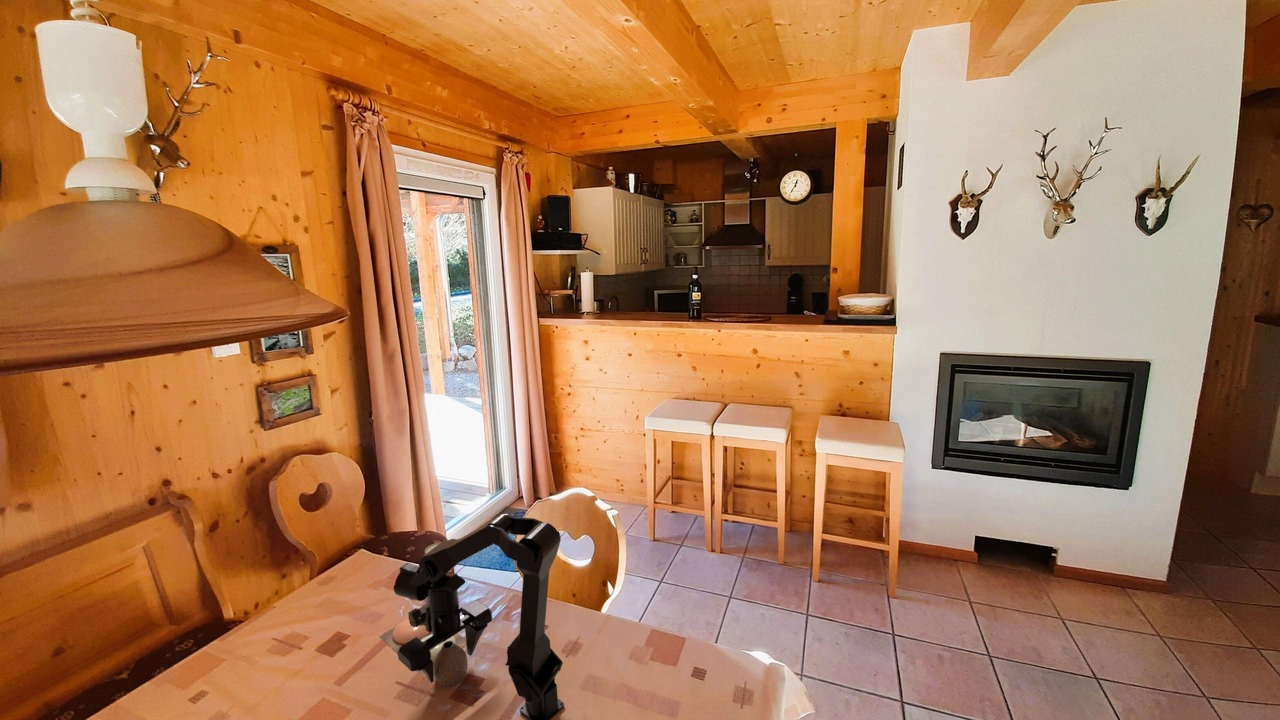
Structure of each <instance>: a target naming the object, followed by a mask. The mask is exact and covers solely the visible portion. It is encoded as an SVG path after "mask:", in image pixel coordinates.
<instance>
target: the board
mask: <svg viewBox="0 0 1280 720" xmlns="http://www.w3.org/2000/svg"><path fill="white" fill-rule="evenodd" d="M395 627H396V626H395ZM395 627H393V628H391V629H389V630H387V631H386V632H384V633H382V634H381V635H379V636H378V637H379V638H381V640H382V641H383V642H385V644H387V645H388V647H390V648H391V649H392V650H393V651H394V652H395V653H396V654H397V655H398V650H399V648H400V647H401V646H402V645H404V644H399V643H397V642H395V641H394V639H393V630H394V629H395ZM431 634H432V632H430V634H429V635H431ZM454 638H455V643H456V645H458V646H460V647H461V648H462V649H463V648H464V647H465V646H466V638H464V636H462V635H460V633H459V632H458V633H457V634H455V635H454ZM433 664H434V663H433ZM415 672H417V673H418V674H419V675H420V676H422V675H423V674H424V672H423V671H422V670H421V671H418V670H416V671H415Z"/></svg>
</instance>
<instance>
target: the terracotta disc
mask: <svg viewBox="0 0 1280 720" xmlns="http://www.w3.org/2000/svg"><path fill="white" fill-rule="evenodd" d="M429 634H430V632H428V631H426V626H424V625H422V626H420V625H419V626H418V627H413V626H411V625H410V622H409V617H408V618H406V619H404V620H402V621H401V622H399V623H398V624H397V625H396V626H395V629H394V630H393V639H394V641H395V642H397V643H399V644H406V643H407V642H409V641H411V640H412V639H414V638H416V637H417V638H418V639H419V640H422V639H423V638H425V637H426V636H428V635H429Z"/></svg>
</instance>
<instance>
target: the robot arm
mask: <svg viewBox="0 0 1280 720" xmlns="http://www.w3.org/2000/svg"><path fill="white" fill-rule="evenodd" d="M510 534H511V535H514V536H515V535H516V536H523V537H522V538H520V540H518V541H516V540H514V539H512V538H511V537H510V536H509V535H510ZM561 540H562V539H561V533H560V531H558V529H556V527H555V526H554V525H552V524H551V523H549V522H545V521H542V520H539V519H537V518H533V517H532V518H531V517H516V516H514V515H511V514H509V513H502V514H499V515H497V516H496V517H495V518H494V519H492V520H491V521H489V522H487V523H485V524H484V525H482V526H481V527H478V528H477V529H475V530H473V531H471V532H470V533H468V534H466V535H464V536H461V538H457V539H456V538H451V539H447V540H444V541H443V540H442V541H441V543H440V542H439V543H440V544H439V545H437V546H436V547H435V548H433V549H432V550H430V551H429V552H428V553H426V554H425V553H424V554H423V555H422V556H421V557H420V558H419V559H418V561H417V563H418V565H414V564H412V563H410V562H406V563H404V564H403V565H401V566H400V567H399V573H398V575H397V576H396V579H395V582H394V585H393V592H394V594H395V595H396V596H399V597H403V598H407V599H411V600H414V601H419V602H421V601H424V600H426V599H428V603H427V604H424V605H422V606H421V607H420V608H416V607H415V608H413V609H412V610H410V611H408V618H409V622H410V625H411V626H413V627H418V626H419V625H420V626H422V625H424V626H426V631H428V632H432V635H433V636H432V637H430V638H428V639H427V640H425V641H424V642H422V641H421V640H419V639H418V638H417V637H416V638H414V639H412V640H411V641H409V642H407V643H406V644H404V645H402V646H401V647H400V648H399V650H398V654H397V657H398V660H399V661H400V662H401V663H402V664H403V665H404V667H406V668H408V670H409V671H411V672H417V671H416V670H418V671H421V670H422V671H423V672H424V673H423V674H424V675H425V677H426V678H427V680H428V682H429V683H431V684H432V683H434V679H435V677H434V672H433V661H432V660H431V659H430V658H431V652H430V650H432V649H434V648H435V647H437V646H438V645H440V644H441V643H443V642H444V641H446V640H448V639H449V638H451V637H452V636H454V635H455V634H457V633H458V634H459V633H460V632H462V631H463V630H465V631H464V632H465V639H466V645H465V646H466V647H465V648H466V652H467V655H468V656H470V657H471V656H473V654H474V651H475V649H476V647H477V646H478V642H479V640H480V638H481V636H482V635H483V632H484V630H485V629H486V628H488V626H489V625H488V624H489V623H491V622H492V621H493V613H492V610H491V608H490V607H488V606H487V605H485V604H483V603H482V602H481V601H479V600H475V601H474V602H472V603H470V604H469V605H467V606H465V607H463V606H462V605H461V604H460V601H459V600H460V599H459V594H458V593H459V592H458V590H459V589H460V588H461V587H462V586H464V584H465V583H466V580H465V579H464V578H463V577H461V576H459V575H458V573H455V574H454V575H451V574H447V573H448V572H449V571H450V570H451V569H453V568H454V569H455V567H456V566H458V565H459V564H460V563H461V562H462V561H464V560H466V559H468V558H470V557H472V556H473V555H475V554H478V553H479V552H481V551H483V550H485V549H487V548H489V547H491V546H492V545H493V546H494V545H495V546H498V547H499V548H500V550H501V551H502V553H503V554H504V555H505V557H507V558H509V559H511V560H513V561H516V567H517V568H518V570H519V572H520V573H521V574H522V589H521V590H522V592H521V602H520V603H521V605H520V620H519V621H520V623H519V633H518V634H517V635H516V637H514V639H513V640H512V641H511V642H510V643H509V644H508V646H507V648H506V649H507V650H506V655H507V661H506V663H505V666H506V667H507V666H508V669H507V670H508V674H509V676H510V678H511V680H512V683H513V685H514V688H515V690H516V692H517V695H518V696H519V697H522V698H523V699H524V701H525V703H523V704H522V705H521V706H520V707H519V712H520V713H521V714H522V715H523V716H525V717H526V718H527V719H528V720H551V719H552V718H553V717H554V716H555V715H556V714H558V713H559V712H560V711H561V710H562V709H564V707H565V703H564V702H563V701H562V700H561V699H560V698H558V697H559V696H558V685H557V683H556V679H555V677H556V676H557V675H558V674H559V672H560V671H561V670H562V667H563V664H564V662H563V660H561V658H560V657H559V656H558V655H557V654H556V652H555V651H554V650H553V648H551V640H550V637H549V636H548V634H546V633H545V632H546V631H545V630H546V629H545V628H546V627H545V626H546V615H547V605H548V604H547V601H548V591H549V590H548V589H549V577H550V570H551V568H552V566H553V563H554V561H555V559H556V557H557V555H558V551H559V547H560V545H561ZM461 615H462V616H461Z"/></svg>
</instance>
